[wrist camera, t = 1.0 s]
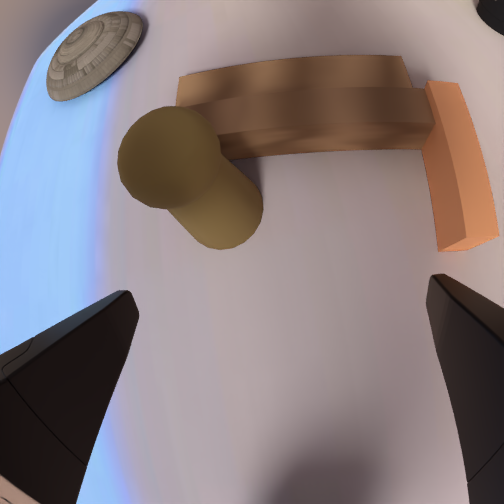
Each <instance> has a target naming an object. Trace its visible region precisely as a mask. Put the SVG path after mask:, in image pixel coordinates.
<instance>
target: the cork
mask: <svg viewBox="0 0 504 504" xmlns="http://www.w3.org/2000/svg"><path fill="white" fill-rule="evenodd" d="M117 164H118V171H119V175H120V179H121V182H122V183H123V185H124V186H125V187H126V189H127V190H128V192H129V193H130V194H131V196H132V197H133V198H135V199H137V200H138V201H140V202H142V203H144V204H145V205H147V206H149V207H153V208H160V209H167V210H168V211H169V212H170V213H171V214H172V215H173V216H174V217H175V218H176V219H177V220H178V221H179V223H180V224H181V225H182V226H183V227H184V228H185V229H186V230H187V231H188V232H189V233H190V234H191V235H192V236H193V237H194V238H195V239H196V240H197V241H198V242H199V243H201V244H203V245H205V246H206V247H208V248H213V249H218V250H222V249H230V248H234V247H236V246H238V245H240V244H242V243H244V242H245V241H246V240H247V239H249V238H250V237H251V236H252V235H253V234H254V233H255V231H256V229H257V227H258V226H259V224H260V222H261V218H262V213H263V202H262V196H261V194H260V192H259V190H258V188H257V186H256V185H255V184H254V183H253V182H252V181H251V180H250V179H249V178H248V177H246V176H245V175H244V174H243V173H242V172H241V171H240V170H239V169H238V168H236V167H235V166H234V165H233V164H232V163H231V162H230V161H229V160H228V159H226V158H225V157H224V156H223V155H222V154H221V149H220V141H219V139H218V136H217V134H216V132H215V130H214V128H213V127H212V125H211V123H210V122H209V121H208V120H206V119H205V118H204V117H203V116H202V115H201V114H199V113H198V112H196V111H194V110H191V109H188V108H185V107H180V106H167V107H162V108H158V109H155V110H152V111H150V112H149V113H147V114H146V115H144V116H142V117H141V118H140V119H138V120H137V121H136V122H135V123H134V124H133V125H132V126H131V127H130V129H129V130H128V132H127V133H126V135H125V136H124V138H123V140H122V143H121V145H120V148H119V151H118V162H117Z"/></svg>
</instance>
